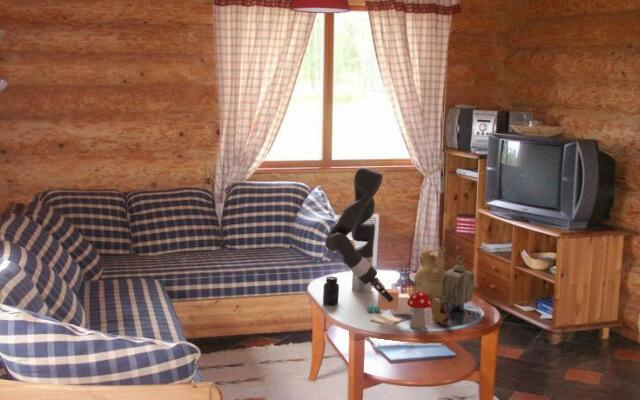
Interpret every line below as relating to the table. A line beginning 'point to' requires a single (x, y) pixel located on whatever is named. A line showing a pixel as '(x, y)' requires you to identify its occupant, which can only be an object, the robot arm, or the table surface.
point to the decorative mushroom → (419, 309)
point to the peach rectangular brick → (387, 305)
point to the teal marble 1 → (370, 308)
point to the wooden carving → (439, 311)
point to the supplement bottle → (331, 291)
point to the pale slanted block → (402, 305)
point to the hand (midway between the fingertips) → (390, 298)
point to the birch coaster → (386, 319)
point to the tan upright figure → (431, 273)
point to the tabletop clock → (457, 285)
